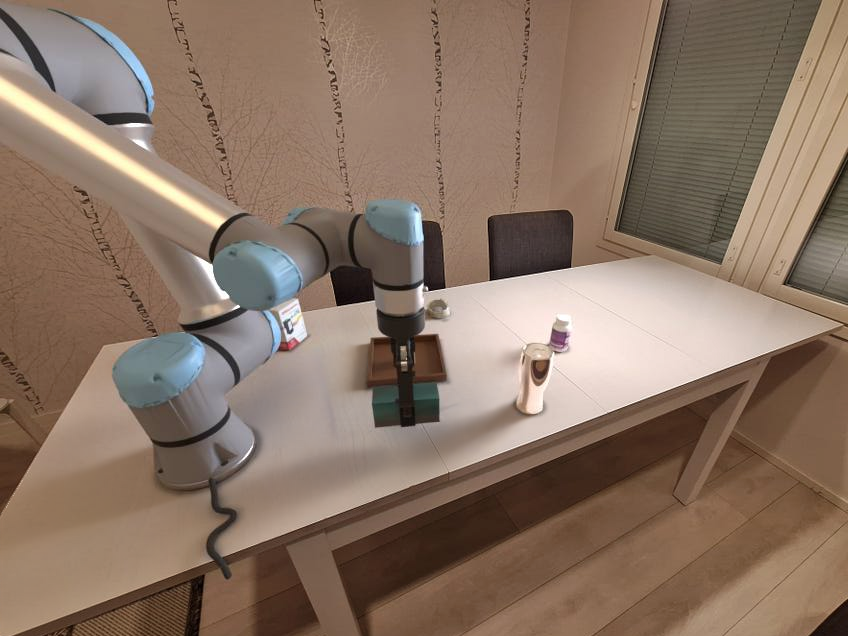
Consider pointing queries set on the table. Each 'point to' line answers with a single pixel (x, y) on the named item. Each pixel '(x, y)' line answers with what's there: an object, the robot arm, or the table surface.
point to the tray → (425, 367)
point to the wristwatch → (438, 303)
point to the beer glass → (534, 376)
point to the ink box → (289, 323)
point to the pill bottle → (560, 333)
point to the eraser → (389, 412)
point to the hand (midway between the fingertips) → (407, 414)
